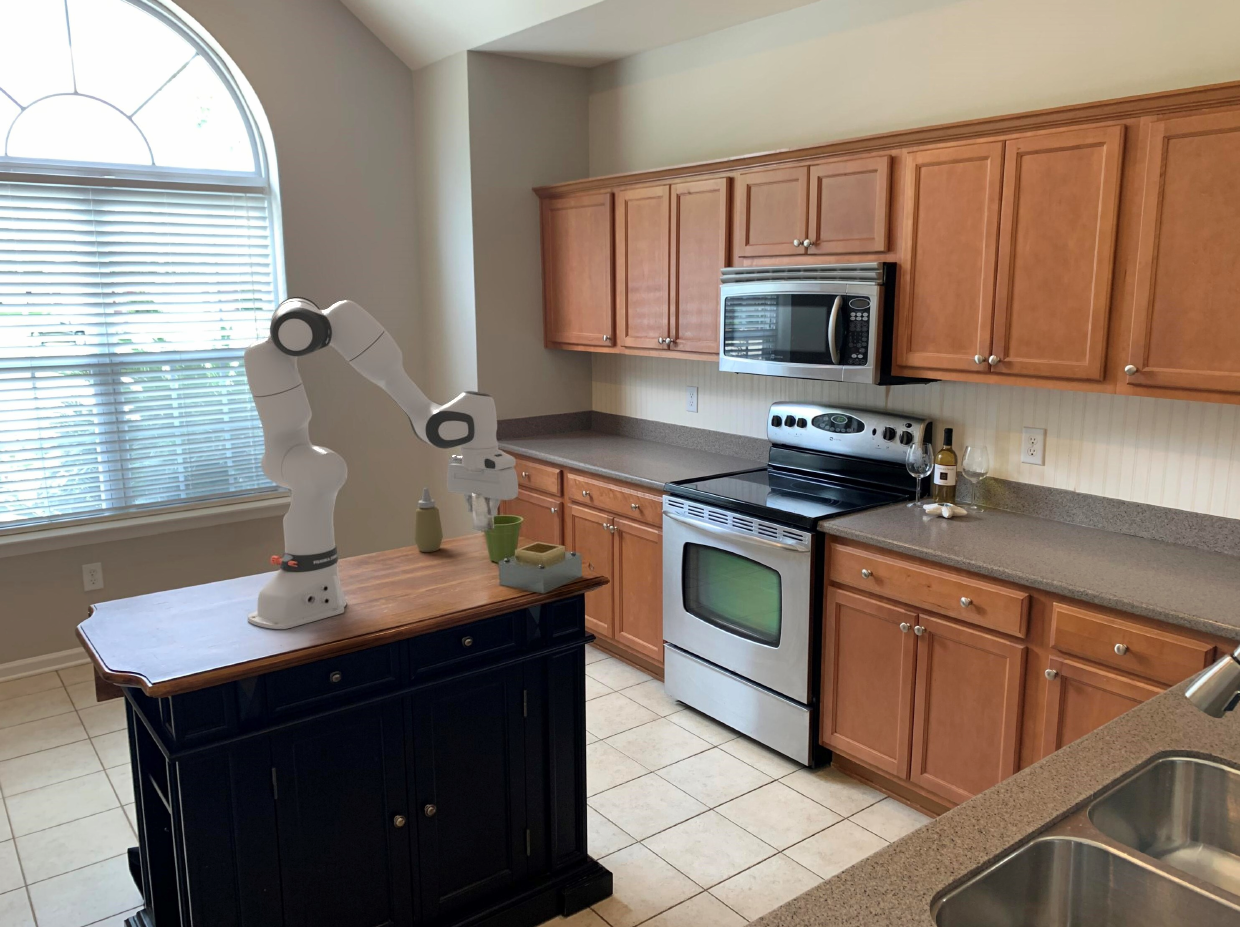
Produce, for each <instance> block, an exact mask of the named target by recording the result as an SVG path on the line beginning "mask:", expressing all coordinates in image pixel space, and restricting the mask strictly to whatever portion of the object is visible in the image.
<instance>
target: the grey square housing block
mask: <svg viewBox="0 0 1240 927" xmlns="http://www.w3.org/2000/svg"><path fill="white" fill-rule="evenodd" d="M582 559H583V558H582V553H577V551H566V546H565V545H561V544H560V545H559V544H553V543H546V542H541V541H535V542H533V543H529V544H528V545H525V546H522V547H519V548H517V549H516V550H515V556H512V557H510V558H505V559H504V560H502V561H499V563H498V580H499V582H498V583H499V586H504V587H508V588H514V589H519V590H523V591H529V592H535V593H539V594H547V593H548V592H550V591H553V590H555V589H558V588H560V587H562V586H564V585H566V584H568V583H570V582H574V581H575V580H577V579H579V578H580V579H581V578H582V577H583V566H582V565H583V564H582Z"/></svg>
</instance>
